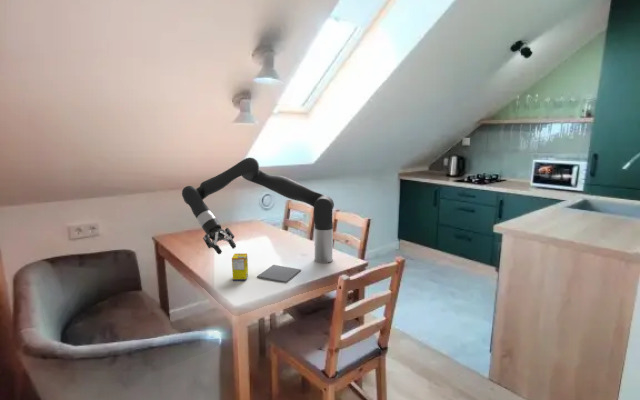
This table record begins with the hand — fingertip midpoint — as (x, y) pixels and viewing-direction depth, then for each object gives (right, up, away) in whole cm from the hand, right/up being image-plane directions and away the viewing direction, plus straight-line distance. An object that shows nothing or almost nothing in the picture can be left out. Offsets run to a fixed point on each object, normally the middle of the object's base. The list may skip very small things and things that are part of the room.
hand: (227, 250), depth 168 cm
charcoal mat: (+23, -12, +4) cm, 26 cm away
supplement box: (+6, -13, -1) cm, 14 cm away
